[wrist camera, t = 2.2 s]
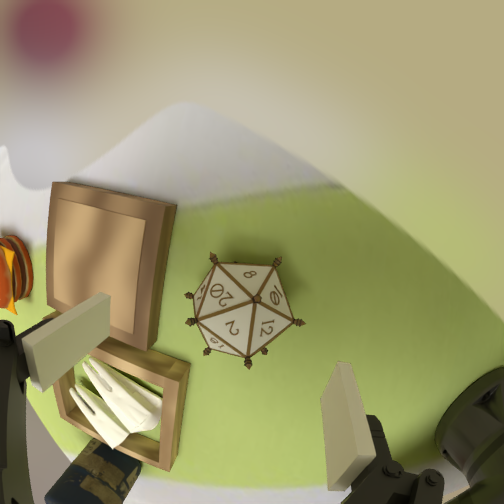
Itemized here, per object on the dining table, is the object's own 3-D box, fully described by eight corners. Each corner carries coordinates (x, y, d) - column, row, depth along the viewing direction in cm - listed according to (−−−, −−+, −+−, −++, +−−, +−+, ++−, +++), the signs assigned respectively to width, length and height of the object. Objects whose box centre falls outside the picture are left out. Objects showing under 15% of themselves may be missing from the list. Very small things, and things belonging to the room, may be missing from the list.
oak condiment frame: (190, 363, 28) (179, 382, 24) (177, 455, 32) (169, 472, 28) (60, 308, 29) (42, 318, 26) (72, 405, 33) (60, 417, 30)
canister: (144, 477, 35) (103, 550, 17) (97, 454, 35) (49, 517, 18) (143, 449, 33) (91, 535, 15) (90, 423, 33) (29, 494, 16)
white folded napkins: (175, 408, 29) (111, 337, 29) (162, 429, 25) (91, 352, 25) (124, 433, 32) (71, 375, 32) (111, 450, 28) (54, 388, 27)
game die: (235, 285, 30) (145, 301, 22) (282, 226, 25) (180, 227, 18) (281, 360, 26) (192, 401, 19) (345, 312, 21) (252, 356, 14)
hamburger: (34, 241, 28) (-4, 251, 22) (36, 308, 31) (3, 325, 24) (0, 226, 29) (-33, 233, 23) (2, 286, 31) (-28, 298, 25)
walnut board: (176, 205, 25) (164, 206, 22) (156, 340, 28) (145, 352, 25) (67, 181, 26) (51, 181, 24) (60, 298, 29) (46, 305, 26)
